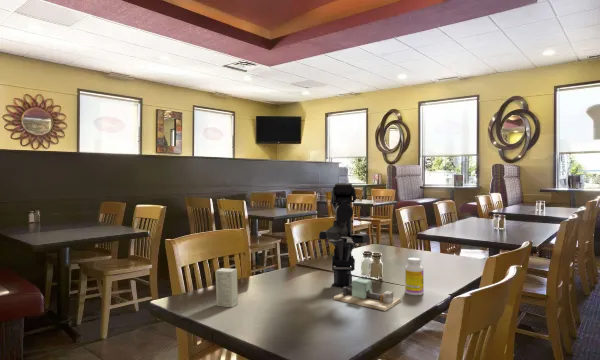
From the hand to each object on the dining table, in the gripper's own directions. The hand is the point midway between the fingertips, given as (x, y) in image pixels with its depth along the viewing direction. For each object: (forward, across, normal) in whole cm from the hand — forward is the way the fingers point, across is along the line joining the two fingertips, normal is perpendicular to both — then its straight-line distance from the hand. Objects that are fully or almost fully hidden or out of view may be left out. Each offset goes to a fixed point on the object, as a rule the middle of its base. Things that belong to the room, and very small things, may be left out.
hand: (343, 260), depth 144 cm
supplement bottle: (+13, +20, +18) cm, 30 cm away
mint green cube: (+12, +7, 0) cm, 14 cm away
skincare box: (+13, -26, -33) cm, 44 cm away
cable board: (+13, +10, 0) cm, 16 cm away
